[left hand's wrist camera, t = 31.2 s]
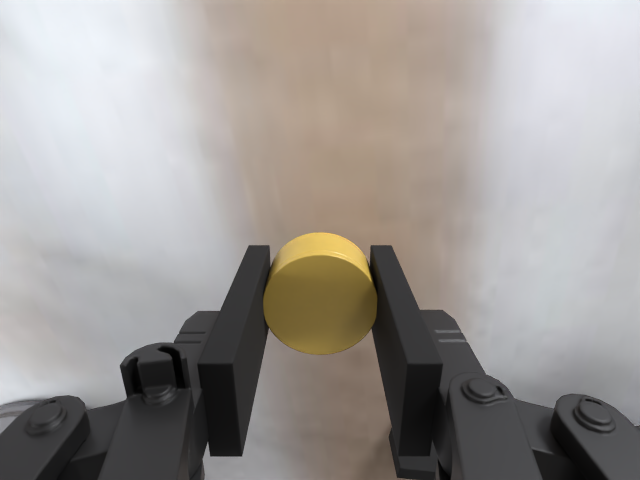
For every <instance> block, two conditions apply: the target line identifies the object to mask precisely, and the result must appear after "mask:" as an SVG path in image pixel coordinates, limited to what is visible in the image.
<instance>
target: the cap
mask: <svg viewBox="0 0 640 480" xmlns="http://www.w3.org/2000/svg"><path fill="white" fill-rule="evenodd" d="M263 308H264V317H265V320H266V323H267V325H268V327H269V328H270V330H271V331H272V333H273V334H274V335H275V336H276V337H277V338H278V339H279V340H280V341H281V342H283V343H284V344H285V345H287V346H289V347H291V348H293V349H295V350H297V351H300V352H304V353H308V354H316V355H325V354H333V353H337V352H341V351H343V350H346V349H348V348H350V347H352V346H354V345H355V344H357V343H358V342H359V341H360V340H362V339H363V338H364V337H365V336H366V335H367V333H368V332H369V331H370V329H371V328H372V326H373V324H374V322H375V319H376V312H377V292H376V288H375V285H374V281H373V277H372V274H371V270H370V267H369V263H368V261H367V259H366V257H365V256H364V254H363V253H362V251H361V250H360V249H359V248H358V247H357V246H356V245H355V244H354V243H352V242H351V241H349V240H347V239H345V238H343V237H341V236H338V235H335V234H331V233H310V234H306V235H302V236H300V237H297V238H295V239H293V240H292V241H290V242H288V243H287V244H286V245H285V246H283V248H282V249H281V250H280V251H279V252H278V253H277V255H276V256H275V258H274V260H273V262H272V265H271V268H270V272H269V276H268V279H267V283H266V287H265V291H264V295H263Z"/></svg>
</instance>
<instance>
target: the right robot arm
mask: <svg viewBox="0 0 640 480" xmlns="http://www.w3.org/2000/svg"><path fill="white" fill-rule="evenodd" d="M635 427H636V428H637V429H638V430H639V431H640V426H635ZM389 441H390V446H391V451H392V455H393V460H394V465H395V470H396V474H397V478H406V479H415V480H435V473H436V467H437V460H438V456H437V453H436V449H435V446H434V443H433V440H432V445H431V452H430V456H398V453H397V448H396V444H395V439H394V434H393V429H392V428H391V431H390V434H389Z"/></svg>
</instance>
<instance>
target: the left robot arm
mask: <svg viewBox="0 0 640 480" xmlns="http://www.w3.org/2000/svg"><path fill="white" fill-rule="evenodd" d="M270 268H271V266H270V247H269V245H249V246H248V249H247V251H246V253H245V255H244V258H243V260H242V262H241V265H240V267H239V269H238V271H237V274H236V276H235V278H234V281H233V283H232V285H231V287H230V290H229V292H228V294H227V296H226V299H225V301H224V303H223V306H222V308H221V310H220V311H198V312H196V313H195V314H194V315H193V316H191V317H190V318H189V319H187V320H186V321H185V323H184V325H183V327H182V328H181V330H180V332H179V334H178V335H177V337H176V339H175V341H174V343H155V344H151V345H147V346H144V347H142V348H140V349H137V350H135V351H134V352H132V353H131V354H130V355H128V356H127V357H126V358H125V359H124V360H123V362H122V363H121V365H120V369H121V373H122V378H123V382H124V386H125V390H126V395H127V399H126V400H125V401H122V402H119V403H116V404H112V405H108V406H104V407H99V408H95V409H91V410H86V407H85V404H84V402H83V401H82V400H81V399H80V398H78V397H74V396H69V395H67V396H57V397H53V398H50V399H47V400H44V401H22V402H16V403H10V404H6V405H3V406H0V480H204V475H205V474H204V467H203V460H202V459H203V455H204V452H205V449H206V446H207V443H208V444H209V451H210V456H242V454H243V450H244V445H245V440H246V435H247V430H248V426H249V421H250V416H251V411H252V406H253V402H254V397H255V392H256V387H257V382H258V378H259V373H260V368H261V363H262V358H263V354H264V349H265V344H266V339H267V334H268V330H269V327H268V325H267V323H266V320H265V317H264V308H263V295H264V291H265V287H266V283H267V279H268V276H269V272H270ZM370 270H371V274H372V277H373V281H374V285H375V288H376V292H377V312H376V319H375V322H374V324H373V326H372V328H371V329H372V333H373V338H374V343H375V348H376V352H377V357H378V362H379V367H380V372H381V376H382V381H383V386H384V391H385V396H386V400H387V405H388V410H389V415H390V420H391V424H392V429H393V434H394V439H395V444H396V448H397V453H398V456H430V452H431V445H432V440H433V443H434V446H435V449H436V453H437V456H438V460H437V467H436V473H435V480H640V431H639V430H638V429H637V428H636V427H635V426H634V425H633V424H632V423H631V422H630V421H629V420H628V419H627V418H626V417H625V416H624V415H623V414H621V413H620V412H619V411H618V410H616V409H615V408H614V407H612V406H610V405H609V404H607V403H605V402H603V401H601V400H599V399H596V398H593V397H590V396H586V395H579V394H569V395H564V396H562V397H561V398H560V399H558V400H557V401H556V405H555V408H554V409H552V408H548V407H543V406H539V405H535V404H531V403H527V402H523V401H520V400H517V399H515V398H513V396H512V394H511V393H510V391H509V389H508V388H507V387H506V386H505V385H503V384H502V383H501V382H500V381H499V380H497V379H495V378H493V377H491V376H489V375H486V374H485V372H484V370H483V368H482V367H481V365H480V363H479V361H478V360H477V358H476V356H475V354H474V353H473V351H472V349H471V347H470V346H469V344H468V342H466V339H465V337H464V335H463V333H461V330H460V328H459V326H458V324H457V323H456V321H455V319H453V318H452V317H451V316H449V315H448V314H447V313H446V312H444V311H443V310H419V307H418V305H417V303H416V300H415V298H414V296H413V294H412V291H411V289H410V287H409V284H408V282H407V280H406V278H405V275H404V273H403V271H402V268H401V266H400V264H399V262H398V259H397V257H396V255H395V253H394V250H393V248H392V246H391V245H371V252H370Z"/></svg>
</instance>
